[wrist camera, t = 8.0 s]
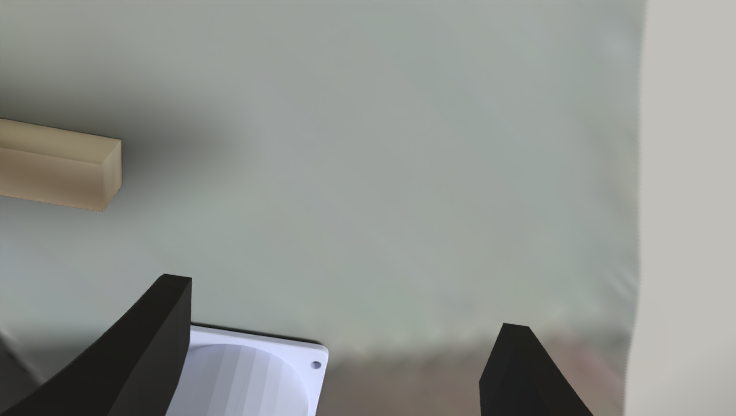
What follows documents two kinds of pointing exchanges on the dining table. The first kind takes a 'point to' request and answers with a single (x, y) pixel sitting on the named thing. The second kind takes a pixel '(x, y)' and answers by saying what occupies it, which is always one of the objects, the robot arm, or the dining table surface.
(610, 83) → the dining table surface
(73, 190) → the slide channel
